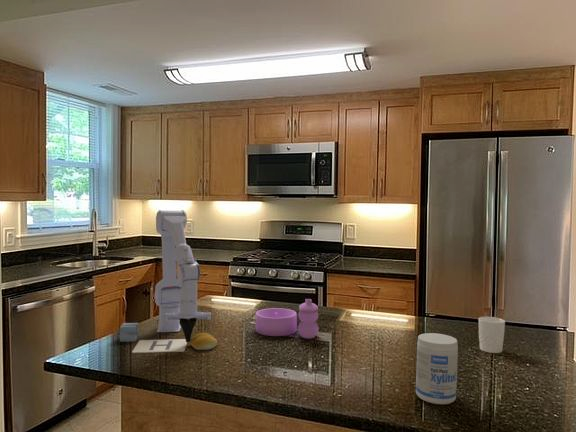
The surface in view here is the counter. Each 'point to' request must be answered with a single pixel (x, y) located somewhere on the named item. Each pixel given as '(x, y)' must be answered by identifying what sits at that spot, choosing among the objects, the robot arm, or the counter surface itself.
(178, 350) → the letter board
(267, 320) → the container set
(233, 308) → the counter surface
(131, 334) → the slate-blue cube
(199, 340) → the bread roll
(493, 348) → the white cup
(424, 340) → the supplement tub
